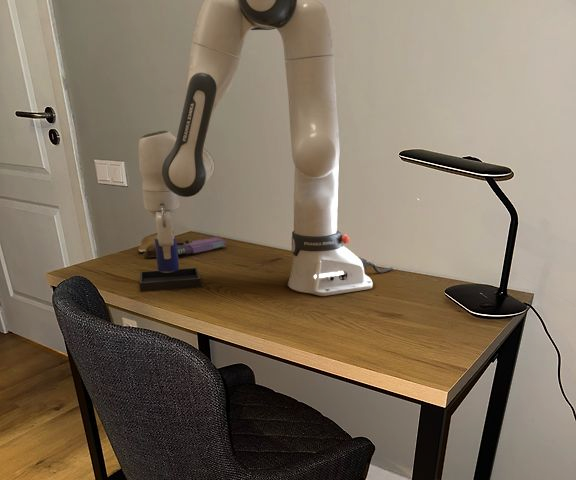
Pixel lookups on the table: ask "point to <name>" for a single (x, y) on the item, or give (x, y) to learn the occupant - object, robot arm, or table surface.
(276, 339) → the table surface
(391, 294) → the table surface
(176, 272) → the tray
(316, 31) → the robot arm
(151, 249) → the stone tool
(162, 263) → the can
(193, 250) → the toy gun
